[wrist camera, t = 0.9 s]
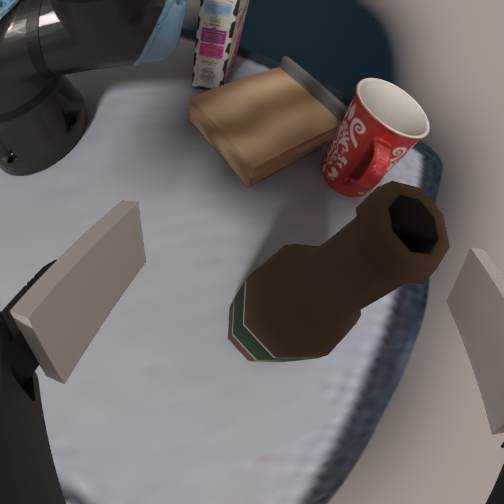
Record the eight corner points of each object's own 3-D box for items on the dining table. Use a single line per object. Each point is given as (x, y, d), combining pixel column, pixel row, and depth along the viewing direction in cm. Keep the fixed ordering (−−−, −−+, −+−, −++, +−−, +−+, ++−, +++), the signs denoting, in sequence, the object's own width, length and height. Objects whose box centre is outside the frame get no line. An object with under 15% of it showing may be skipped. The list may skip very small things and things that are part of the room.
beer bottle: (284, 279, 34) (427, 125, 12) (311, 348, 31) (511, 289, 9) (213, 302, 31) (267, 138, 9) (240, 375, 29) (374, 390, 7)
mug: (324, 136, 42) (363, 66, 30) (379, 166, 42) (430, 105, 30) (296, 204, 37) (342, 129, 25) (362, 237, 37) (428, 179, 25)
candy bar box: (223, 94, 42) (241, -3, 27) (190, 88, 41) (199, -10, 26) (238, 55, 46) (257, -27, 31) (210, 50, 46) (222, -32, 31)
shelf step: (188, 118, 39) (190, 85, 34) (278, 84, 45) (287, 55, 39) (247, 187, 37) (257, 156, 31) (336, 139, 42) (352, 112, 37)
